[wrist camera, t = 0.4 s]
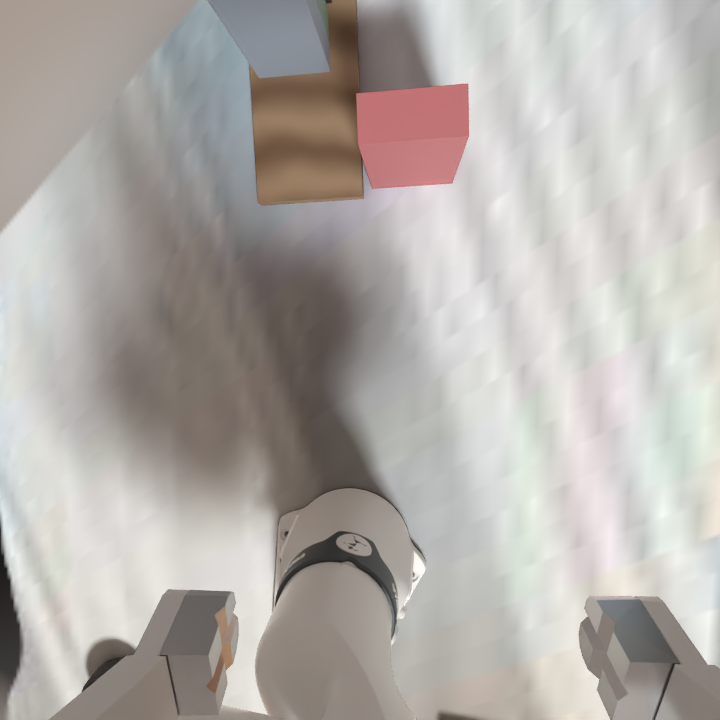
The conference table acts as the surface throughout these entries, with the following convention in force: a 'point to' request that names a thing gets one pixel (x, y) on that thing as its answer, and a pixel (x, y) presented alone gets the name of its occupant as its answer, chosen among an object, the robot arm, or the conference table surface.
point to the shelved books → (278, 34)
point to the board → (311, 124)
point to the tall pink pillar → (413, 134)
